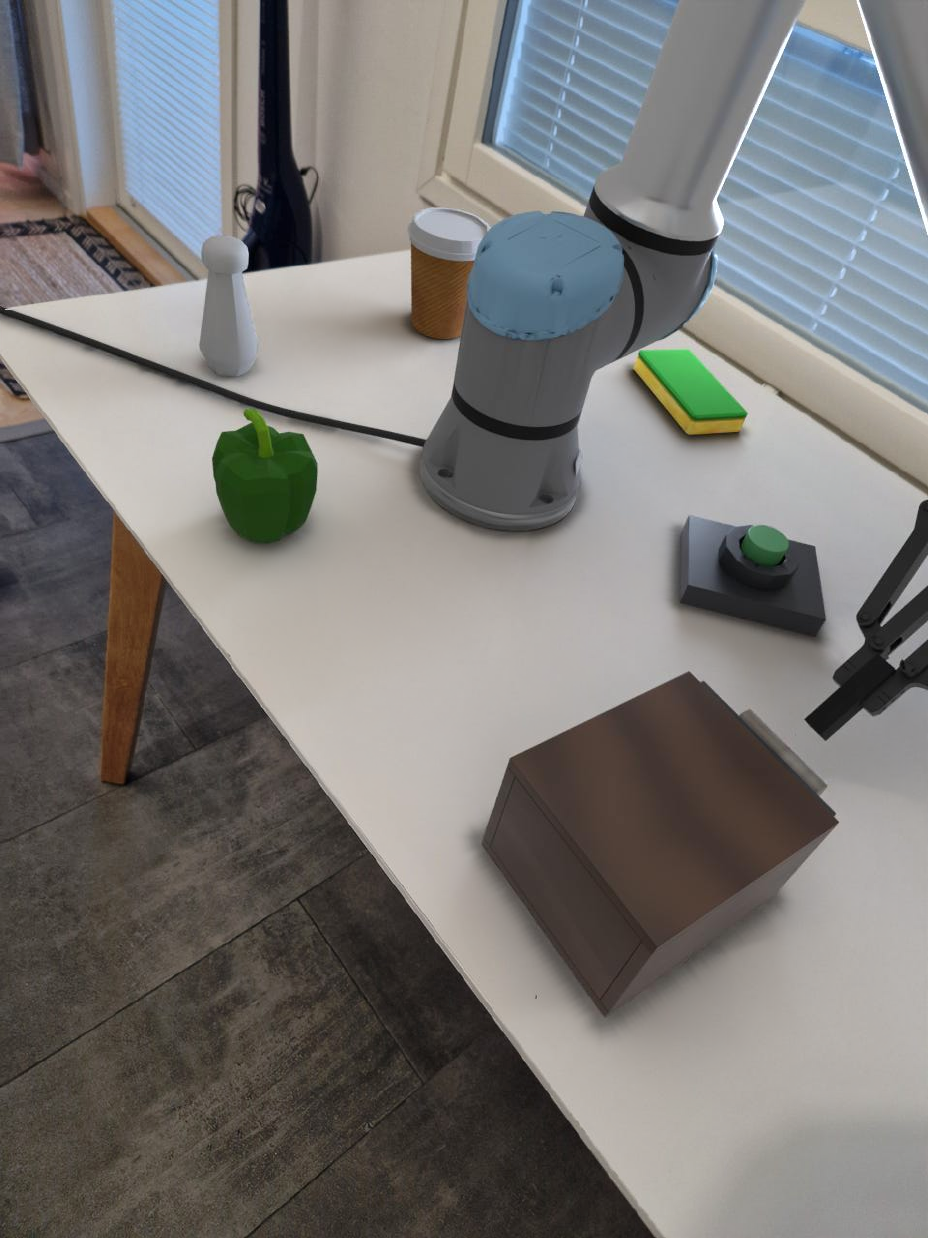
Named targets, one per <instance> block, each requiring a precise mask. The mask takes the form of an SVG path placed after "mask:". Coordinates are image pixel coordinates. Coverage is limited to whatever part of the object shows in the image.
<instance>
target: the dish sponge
mask: <svg viewBox="0 0 928 1238" xmlns="http://www.w3.org/2000/svg"><path fill="white" fill-rule="evenodd" d="M635 359H636V360H635V362H634V365H633V370H634V371H635V373H636V374H637V375H638V377H640V379H641V380H642V381H643V383H644V384H645V385H646V386H647V387H648V389H649V390H650V391H651V392H652V393H653V394H654V396H655V397H656V398H657V400H658V401H659V402H660V403H661V404H662V405H663V407H664V408H665V409H666V410H667V411H668V413H669V414H670V415H671V417H673V419H674V421H676V423H677V424H678V425H679V427H681V429H682V430H683V431H684V432H685V434H687V435H689V436H693V435H706V434H722V433H735V432H736V433H738V432H739V433H740V431H741V429H742V427H743V425H744V423H745V420H746V419H747V416H748V414H749V412H748V411H746V409H745V408H744V407H743V406H742V405H741V404H740V402H738V400H736V399H735V397H734V396H733V395H732V394H731V393H730V392H729V391H728V389H727V388H725V386H724V385H723V384H722V383H721V382H720V381H719V380H718V379H717V378H716V376H715V375H714V374H713V373H712V372H711V371H710V370H709V369H708V368H707V367H706V366H705V364H703V362H702V361H701V360H700V359H699V358H698V357H697V356H696V355H695V354H694V353H693V351H692V350H690V349H688V348H680V349H679V348H678V349H645V350H642V349H640V350H638V353H637V357H636V358H635Z"/></svg>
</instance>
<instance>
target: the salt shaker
mask: <svg viewBox="0 0 928 1238" xmlns="http://www.w3.org/2000/svg"><path fill="white" fill-rule="evenodd" d="M200 254H201V255H200V257H201V262H202V265H204V267H205V268H206V269H207V270H208V272H207V279H206V288H205V295H204V303H203V304H204V305H203V312H202V319H201V328H200V336H199V337H200V338H199V345H198V346H199V350H200V352H201V355H202V356H203V359H204V361H205V362H206V364H207V367H208V368H209V369H210V370H212V371H213V372H214V373H216V374H217V375H218V376H222V377H235V378H237V377H238V378H239V377H241V376H242V375H244V374H246V373H248V372H250V371H251V369H252V367H253V365H254V363H255V360H256V359H257V357H258V352H259V342H258V341H259V340H258V336H257V332H256V328H255V322H254V320H253V314H252V310H251V306H250V302H249V298H248V293H247V288H246V284H245V280H244V274H243V272H244V271H246V270H247V269H248V267H249V257H250V253H249V248H248V246H247V245H246V244H245V243H244V242H243V241H242V240H241V239H239V238H237V237H234V236H230V235H227V234H226V235H224V234H223V235H221V234H220V235H219V234H217V235H213V236H210V237H208V238H206V239H205V240H204V241H203V242H202V245H201V251H200Z"/></svg>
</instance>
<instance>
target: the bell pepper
mask: <svg viewBox="0 0 928 1238" xmlns="http://www.w3.org/2000/svg"><path fill="white" fill-rule="evenodd" d="M243 417H245V419H246V421H250V423H248V424H246V425H245V426H242V427H240V428H237V429H235V430H226V431H221V433H220V435H219V437H218V439H217V440H216V444H215V448H214V450H213V453H212V457H211V462H212V463H211V465H212V474H213V475H212V476H213V479H214V483H215V492H216V496H217V499H218V501H219V504H220V507H221V509H222V512H223V515H224V516H225V518H226V520H227V522H228V524H229V526H230V527H231V529H232V530H233V531H234V532H235V533H236V534H237V535H238V536H240V537H242V538H243V539H245V540H247V541H249V542H251V543H261V544H270V543H271V544H272V543H274V542H277V541H281V540H282V539H283V537H284V535H285V534H292V533H294V532H296V531H298V530H299V529H300V528H301V527H303V526H304V524H305V523H306V522H307V520H308V517H309V514H310V511H311V509H312V506H313V503H314V500H315V497H316V494H317V490H318V489H317V487H318V476H319V475H318V474H319V473H318V472H319V468H318V467H319V466H318V465H319V464H318V461H317V459H316V457H315V455H314V453H313V450H312V448H311V446H310V444H309V442H308V441H307V438H306V437H305V434H304V433H299V432H293V431H284V432H279V431H277V430H276V428H275V427H273V426H270V425H268V424H267V422H266V420H265V418H264V417H263V416H262V414H261V413H260V412H259V411H258V410H256V409H255V408H253V407H249V408H245V409H244V410H243Z"/></svg>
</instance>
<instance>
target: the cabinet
mask: <svg viewBox="0 0 928 1238" xmlns="http://www.w3.org/2000/svg"><path fill="white" fill-rule="evenodd" d="M839 823H840V821H839V820H838V819H837V818H836V816H835V817H834V816H833V815H832V814H831V813H830V812H829V811H828V810H827V809H826V808H825V807H824V806H823V805H822V804H821V803H820V802H819V801H818V800H817V799H816V798H815V797H814V796H813V795H812V794H811V793H810V792H809V791H808V790H807V789H806V788H805V787H804V786H803V785H802V784H801V783H800V782H799V781H798V780H797V779H796V778H795V777H794V776H793V775H792V774H791V773H790V772H789V771H788V770H787V769H786V768H785V767H784V766H783V765H782V764H781V763H780V762H779V761H778V760H777V759H776V758H775V757H774V756H773V755H772V754H771V753H770V752H769V751H768V750H767V749H766V748H765V747H764V746H763V745H762V744H761V743H760V742H759V741H758V740H757V739H756V738H755V737H754V736H753V735H752V734H751V733H750V732H749V731H748V730H747V729H746V728H745V727H744V726H743V725H742V724H741V723H740V722H739V721H738V720H737V719H736V718H735V717H734V716H733V715H732V714H731V713H730V712H729V711H728V710H727V709H726V708H725V707H724V706H723V705H722V704H721V703H720V702H719V701H718V700H717V699H716V697H715V696H714V695H713V694H712V693H711V692H710V691H709V690H708V689H707V688H706V687H705V686H704V685H703V684H702V683H701V681H700V680H699V679H698V678H697V677H696V676H695V675H694V674H693V673H692V672H691V671H689V670H688V671H686V672H684V673H682V674H680V675H678V676H675V677H674V678H671V679H669V680H667V681H665V682H663V683H661V684H659V685H657V686H655V687H652V688H651V689H649V690H647V691H645V692H642V693H641V694H639V695H636V696H634V697H632V698H630V699H628V700H627V701H624V702H622V703H620V704H618V705H616V706H614V707H611V708H610V709H607V710H606V711H603V712H601V713H599V714H597V715H595V716H593V717H591V718H589V719H586V720H585V721H583V722H581V723H579V724H577V725H575V726H573V727H570V728H568V729H566V730H565V731H562V732H560V733H558V734H556V735H554V736H552V737H550V738H548V739H545V740H544V741H542V742H540V743H538V744H536V745H534V746H531V747H529V748H527V749H525V750H523V751H521V752H519V753H517V754H516V755H513V756H511V757H509V759H508V762H507V766H506V768H505V771H504V774H503V777H502V779H501V783H500V786H499V789H498V792H497V795H496V798H495V801H494V804H493V807H492V809H491V812H490V816H489V819H488V821H487V824H486V827H485V831H484V834H483V837H482V841H481V845H482V846H483V848H484V849H485V851H486V852H487V853H488V855H489V856H490V857H491V859H492V860H493V862H494V864H496V866H497V867H498V869H499V870H500V872H501V873H502V875H503V876H504V877H505V879H506V880H507V881H508V883H509V884H510V886H511V887H512V889H513V890H514V891H515V892H516V895H518V897H519V898H520V900H521V901H522V903H523V905H524V906H525V907H526V908H527V910H528V911H529V913H530V914H531V915H532V917H533V918H534V920H535V922H536V923H537V924H538V925H539V926H540V928H541V930H542V931H543V932H544V934H545V935H546V936H547V938H548V939H549V941H550V942H551V943H552V945H553V946H554V947H555V949H556V950H557V952H558V954H559V955H560V957H562V959H563V961H564V962H565V964H567V966H568V967H569V969H570V971H572V973H573V974H574V976H575V977H576V979H577V980H578V982H579V983H580V985H581V986H582V987H583V989H584V991H586V993H587V994H588V996H589V997H590V999H591V1000H592V1002H593V1003H594V1004H595V1006H596V1007H597V1009H598V1010H599V1011H600V1013H601V1014H602V1015H603V1017H604V1018H607V1017H608V1016H610V1015H612V1014H613V1013H614V1012H615V1011H617V1010H618V1009H620V1008H621V1007H623V1006H624V1005H625V1004H627V1003H628V1002H630V1001H631V1000H633V999H634V998H635V997H637V996H638V995H639V994H640V993H642V992H643V991H645V990H646V989H648V988H650V986H652V985H653V984H655V983H657V982H658V981H659V980H660V979H661V978H663V977H664V976H666V975H667V974H668V973H670V972H671V971H673V970H674V969H675V968H678V967H679V966H680V965H681V964H683V963H684V962H685V961H687V960H689V958H691V957H693V956H694V955H696V954H697V953H698V952H699V951H701V950H702V949H704V948H705V947H707V946H708V945H709V944H711V943H712V942H714V941H715V940H716V939H717V938H719V937H720V936H722V935H723V934H724V933H726V932H728V931H729V930H730V929H731V928H733V927H735V926H736V925H738V924H739V923H740V922H742V921H743V920H744V919H746V918H747V917H749V916H750V915H751V914H753V913H754V912H755V911H757V910H758V909H759V908H761V907H763V906H764V905H765V904H767V903H769V902H770V901H771V900H773V898H774V897H775V896H776V895H777V893H779V891H780V890H781V889H782V888H783V887H784V885H786V883H787V882H788V881H789V880H790V879H791V878H792V877H793V875H794V874H795V873H796V872H797V871H798V870H799V869H800V868H801V867H802V866H803V864H805V862H806V861H807V860H808V858H810V856H811V855H812V854H813V853H814V852H815V851H816V850H817V848H818V847H819V846H820V845H821V844H822V843H823V842H824V840H825V839H826V838H827V837H828V836H829V835H830V834H831V832H833V830H834V829H835V828H836V827H837V826H838V825H839Z"/></svg>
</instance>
